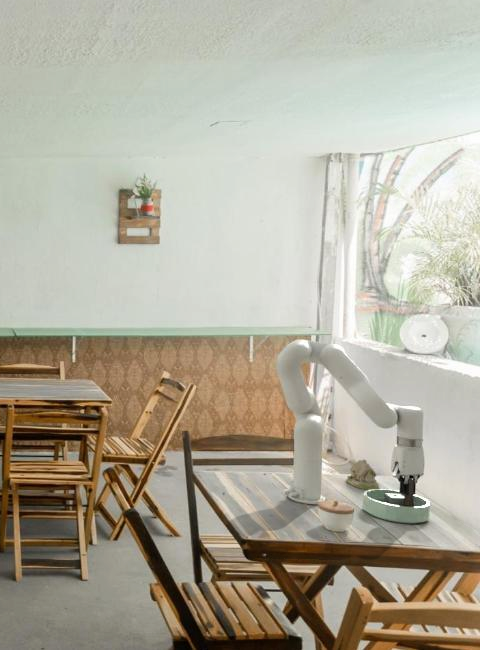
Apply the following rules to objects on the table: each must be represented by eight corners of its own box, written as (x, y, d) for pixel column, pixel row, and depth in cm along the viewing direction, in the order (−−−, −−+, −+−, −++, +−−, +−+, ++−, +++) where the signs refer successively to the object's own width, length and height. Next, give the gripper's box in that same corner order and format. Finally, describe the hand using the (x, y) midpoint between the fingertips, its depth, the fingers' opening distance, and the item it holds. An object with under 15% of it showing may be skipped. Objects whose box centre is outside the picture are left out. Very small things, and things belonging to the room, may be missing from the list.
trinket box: (352, 536, 216) (353, 508, 216) (315, 530, 222) (316, 502, 222) (354, 526, 225) (355, 499, 225) (318, 520, 231) (319, 493, 231)
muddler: (409, 511, 233) (409, 480, 233) (398, 508, 237) (398, 477, 237) (419, 510, 234) (419, 479, 234) (408, 507, 238) (408, 476, 238)
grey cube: (398, 507, 242) (399, 493, 242) (405, 512, 237) (406, 498, 237) (384, 506, 243) (384, 493, 242) (390, 511, 238) (391, 497, 238)
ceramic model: (342, 478, 279) (342, 454, 278) (371, 479, 277) (372, 456, 277) (356, 489, 265) (357, 464, 265) (386, 490, 263) (387, 465, 263)
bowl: (396, 527, 225) (397, 509, 225) (350, 507, 244) (350, 491, 244) (443, 522, 230) (443, 505, 230) (394, 503, 249) (394, 487, 249)
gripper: (418, 438, 240) (416, 488, 241) (381, 440, 237) (379, 492, 238) (437, 443, 233) (435, 495, 234) (399, 446, 229) (397, 498, 230)
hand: (407, 493), depth 236 cm, fingers closed on muddler, 2 cm apart
